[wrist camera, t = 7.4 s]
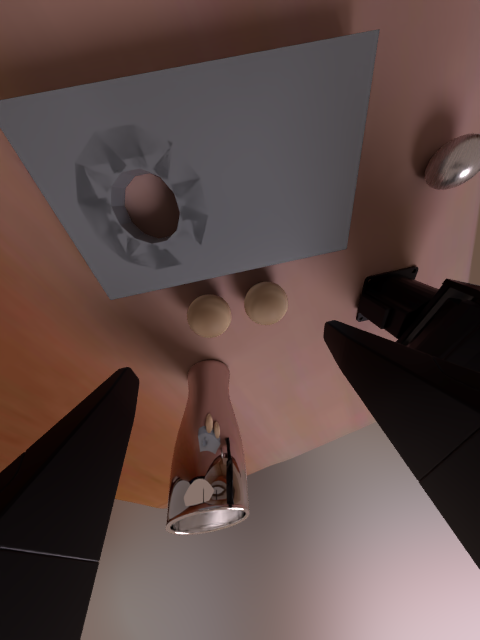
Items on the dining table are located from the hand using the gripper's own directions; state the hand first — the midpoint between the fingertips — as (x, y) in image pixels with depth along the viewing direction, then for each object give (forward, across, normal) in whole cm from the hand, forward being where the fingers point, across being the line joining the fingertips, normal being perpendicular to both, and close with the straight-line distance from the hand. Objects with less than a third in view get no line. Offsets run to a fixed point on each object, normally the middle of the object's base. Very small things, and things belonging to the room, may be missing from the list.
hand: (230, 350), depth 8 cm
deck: (+12, -1, -6) cm, 14 cm away
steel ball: (+11, -21, -5) cm, 24 cm away
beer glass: (+13, +5, +15) cm, 20 cm away
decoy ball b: (+10, +2, +4) cm, 11 cm away
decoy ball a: (+10, -4, +4) cm, 12 cm away
